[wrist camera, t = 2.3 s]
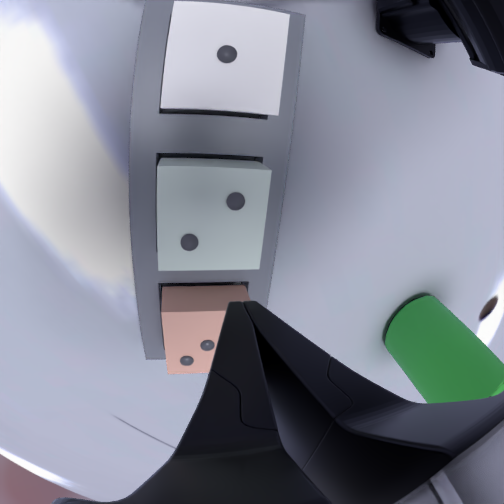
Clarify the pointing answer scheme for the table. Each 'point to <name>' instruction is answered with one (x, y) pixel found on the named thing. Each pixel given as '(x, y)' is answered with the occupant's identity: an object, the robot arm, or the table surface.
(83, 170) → the table surface
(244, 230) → the tile
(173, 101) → the tile
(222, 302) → the tile
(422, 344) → the bottle
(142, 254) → the board
